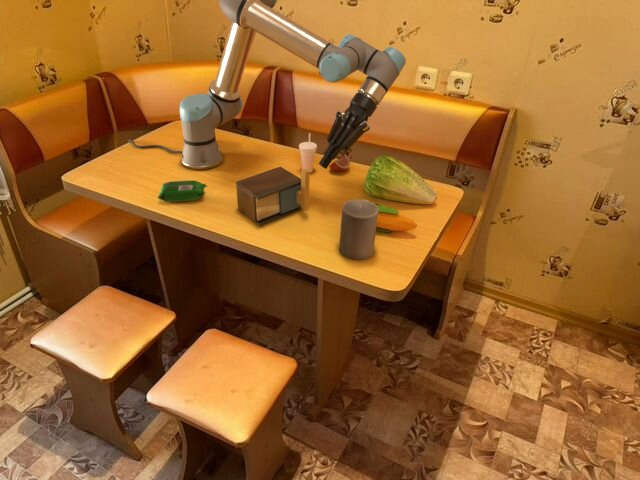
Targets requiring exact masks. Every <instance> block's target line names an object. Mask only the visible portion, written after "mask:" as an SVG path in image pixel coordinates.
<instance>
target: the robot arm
mask: <svg viewBox="0 0 640 480" xmlns="http://www.w3.org/2000/svg"><path fill="white" fill-rule="evenodd" d="M277 2H278V0H218V5H219V8H220V10H221V12H222V13H223V15H224V16H225V17H226V18H227V19H228V20H230V21H231V22H230V24H229V29H228V32H227V37H226V40H225V43H224V47H223V51H222V55H221V58H220V63H219V66H218V70H217V73H216V76H215V79H214V80H211V81H210V83H209V87H208V89H207V94H206V93H195V94H191V95H188V96H186V97H184V98H183V99H182V100H181V101H180V103H179V105H178V106H179V117H180V118H179V119H180V125H181V131H182V137H183V147H182V150H171V149H169V148H167V147H165V146H164V145H159V144H148V145H138V144H136V143H135V142H134V140H133V139H131V138H130V139H129V140H128V143H131V144H132V145H133V146H134V148H138V149H149V148H159V149H163V150H165V151H166V152H168V153H170V154H181V164H182V166H183V167H185V168H187V169H189V170H193V171H194V170H195V171H204V170H205V171H206V170H211V169H214V168H216V167H219V166H220V165H221V164H222V163H223V161H224V157H223V153H222V151H221V146H220V145H219V144H218V142H217V138H216V129H217V128H218V127H220V126H222V125H224V124H226V123H229V121H232V120H233V119H235V118H236V117H237V116H238V115H239V114H240V113H241V111H242V108H243V100H242V96H241V90H240V88H239V87H240V84H241V81H242V78H243V75H244V71H245V68H246V65H247V62H248V59H249V56H250V52H251V49H252V46H253V42H254V40H255V37H256V33H257V34H259V35H261V36H263V37H264V38H265V39H268V40H269V41H270V42H272V43H274V44H276V45H278V46H279V47H281V48H283V49H284V50H286V51H288V52H290V53H291V54H293V55H295V56H296V57H298V58H300V59H301V60H303V61H304V62H306V63H307V64H310V65H311V66H312V67H314V68H316V69H318V70H319V73H320V76H321V77H322V78H323V80H324V81H326V82H328V83H333V84H335V83H338V82H340V81H343V80H345V79H346V78H348V76H350V75H351V74H353V73H355V72H356V71H358V72H361V73H362V74H364V75H366V77H365V80H364V81H363V82H362V84H361V85H360V86H359V88H358V89H357V92H356V93H354V95H353V97H352V98H351V100H350V102H349V106H348V107H347V108H346V109H345V110H344V111H342V112H340V111H339V110H338V111H337V112H336V113H335V119H334V122H333V124H332V125H331V128H330V130H329V133H328V135H327V137H326V141H327V142H328V146H327V147H326V149H325V151H324V152H323V156H322V157H321V159H320V160H319V162H318V164H319V165H320V166H321V168H323V169H325V170H327V169H328V168H329V167H330V165H331V164H332V161H335V160H336V159H337V157H338V155H339V154H340V152H342V151H344V152H347V151H348V150H349V149H351V147H352V146H353V145H354V144H355V143H357V141H358V140H359V139H360V138H361V137H363V135H364V134H365V133H366V132H368V131H370V130H371V126H370V125H369V124H368V121H369V118H370V117H372V116H373V114H374V113H375V111H376V110H377V108H378V107H377V106H378V105H380V103H381V102H382V100H383V99H384V97H385V96H386V94H387V93H388V91H389V90H390V88H391V87H392V86H393V85H394V83H395V81H397V79H398V77H399V76H400V74H401V73H402V71H403V69H404V67H405V65H406V63H407V60H406V57H405V55H404V53H402V52H401V51H400V50H399V49H397V48H395V47H392V46H387V47H386V48H385V49H384V50H383V51H382V50H379V49H378V48H376V47H374V46H372V45H370V44H369V43H367V42H366V41H364V40H363V39H361V37H359V36H355V35H354V34H351V33H348V34H346V35H345V36H344V37H343V38H342V39H341V40H340V42H339V43H338V45H335V44H333V43H332V42H330V41H328V40H326V39H325V38H323V37H322V36H321V35H318V34H316V33H315V32H313V31H311V30H309V29H308V28H306V27H304V26H303V25H301V24H299V23H297V22H296V21H294V20H292V19H291V18H289V17H288V16H286V15H284V14H282V13H280V12H279V11H277V10H275V9H273V8H274V7H275V6H276V4H277Z"/></svg>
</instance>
